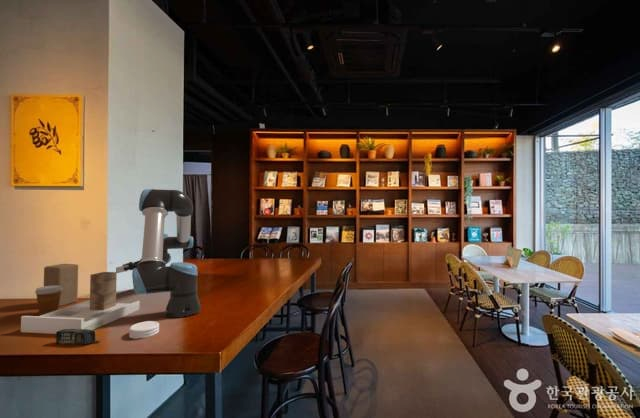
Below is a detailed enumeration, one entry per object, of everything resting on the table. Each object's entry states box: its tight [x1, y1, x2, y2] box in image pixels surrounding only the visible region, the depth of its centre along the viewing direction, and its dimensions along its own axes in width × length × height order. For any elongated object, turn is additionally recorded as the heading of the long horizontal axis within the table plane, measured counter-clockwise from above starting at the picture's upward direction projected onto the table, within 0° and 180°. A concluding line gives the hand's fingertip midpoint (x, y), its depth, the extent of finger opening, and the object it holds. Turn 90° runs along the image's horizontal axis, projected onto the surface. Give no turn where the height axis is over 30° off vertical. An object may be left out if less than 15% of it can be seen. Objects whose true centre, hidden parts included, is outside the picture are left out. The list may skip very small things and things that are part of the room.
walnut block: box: [89, 271, 118, 310], centre depth 136 cm, size 7×7×16 cm
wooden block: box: [43, 263, 79, 308], centre depth 150 cm, size 10×10×20 cm
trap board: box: [20, 299, 141, 335], centre depth 128 cm, size 31×26×6 cm
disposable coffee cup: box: [34, 285, 63, 316], centre depth 136 cm, size 10×10×12 cm
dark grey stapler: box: [55, 329, 100, 346], centre depth 104 cm, size 5×3×15 cm
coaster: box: [128, 320, 160, 340], centre depth 113 cm, size 10×10×4 cm
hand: (117, 270), depth 145 cm, fingers closed
